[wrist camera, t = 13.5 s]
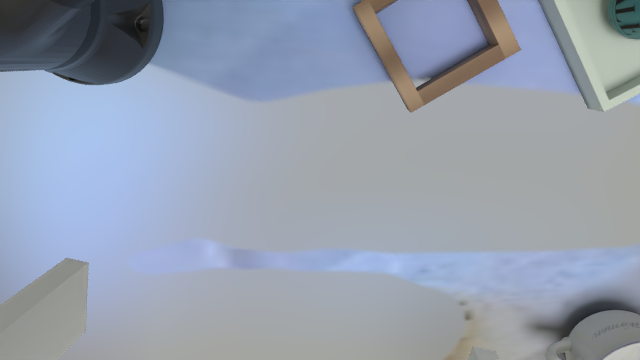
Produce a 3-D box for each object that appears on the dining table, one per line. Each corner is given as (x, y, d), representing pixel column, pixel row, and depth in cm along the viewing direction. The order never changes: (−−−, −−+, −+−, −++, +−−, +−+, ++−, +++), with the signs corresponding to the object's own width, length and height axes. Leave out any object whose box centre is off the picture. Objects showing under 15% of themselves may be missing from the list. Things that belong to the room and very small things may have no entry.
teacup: (667, 315, 50) (724, 362, 42) (619, 387, 53) (664, 444, 45) (554, 276, 49) (590, 316, 42) (512, 351, 52) (539, 401, 45)
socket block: (353, 10, 43) (352, 6, 40) (458, -58, 41) (465, -67, 38) (407, 109, 46) (411, 112, 43) (509, 50, 43) (521, 49, 40)
